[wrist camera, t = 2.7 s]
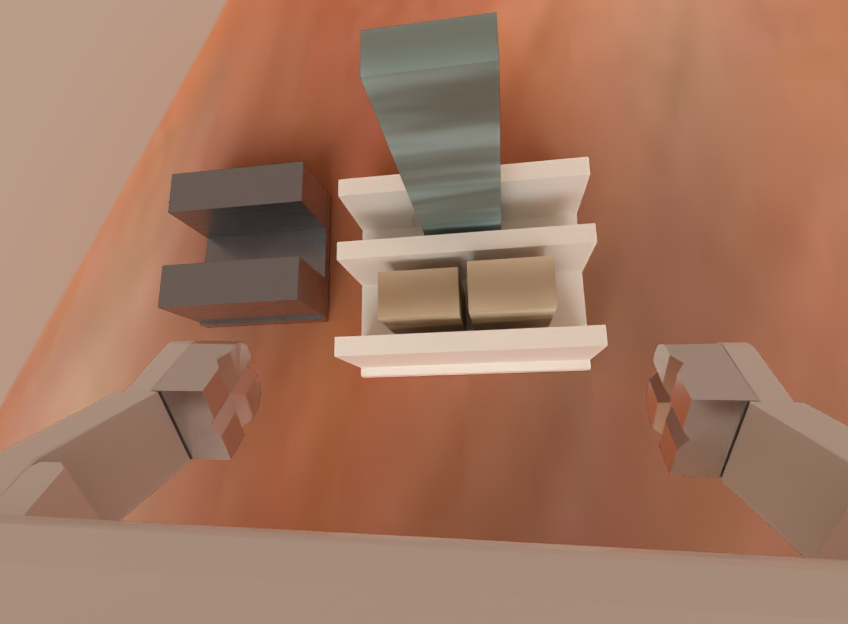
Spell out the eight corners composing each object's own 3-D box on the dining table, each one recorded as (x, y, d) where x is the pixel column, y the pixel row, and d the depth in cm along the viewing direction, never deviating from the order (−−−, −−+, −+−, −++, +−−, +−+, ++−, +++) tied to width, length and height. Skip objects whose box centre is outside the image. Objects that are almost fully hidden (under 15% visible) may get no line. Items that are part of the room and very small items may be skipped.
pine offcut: (547, 329, 35) (557, 306, 28) (475, 333, 36) (468, 310, 29) (544, 288, 36) (553, 255, 29) (473, 292, 37) (466, 261, 30)
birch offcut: (466, 333, 36) (459, 314, 30) (397, 336, 37) (377, 319, 31) (465, 292, 37) (457, 267, 31) (397, 296, 37) (377, 272, 32)
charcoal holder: (327, 321, 39) (297, 302, 33) (207, 327, 40) (157, 310, 34) (331, 196, 41) (303, 158, 35) (217, 206, 43) (172, 171, 37)
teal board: (501, 253, 37) (499, 60, 18) (433, 257, 38) (360, 77, 18) (500, 227, 37) (496, 11, 18) (433, 232, 38) (360, 30, 19)
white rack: (588, 370, 35) (608, 356, 28) (364, 377, 37) (334, 366, 31) (572, 197, 38) (587, 147, 31) (366, 214, 40) (338, 171, 34)
